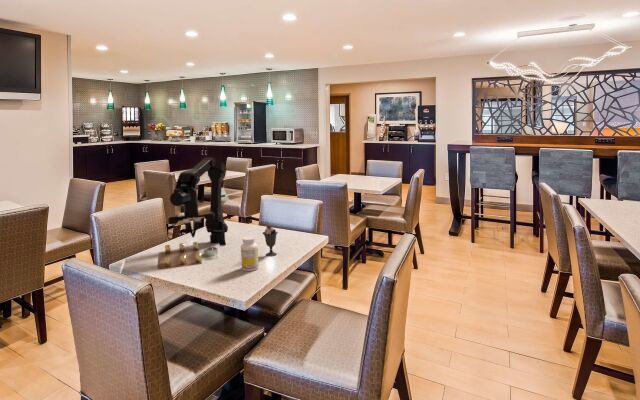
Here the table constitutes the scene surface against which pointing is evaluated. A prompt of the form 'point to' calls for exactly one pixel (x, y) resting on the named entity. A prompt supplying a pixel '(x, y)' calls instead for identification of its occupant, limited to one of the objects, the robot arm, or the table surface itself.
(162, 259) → the board
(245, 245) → the supplement bottle
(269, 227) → the sundae
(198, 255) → the spacers
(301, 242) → the table surface
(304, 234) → the table surface
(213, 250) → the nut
